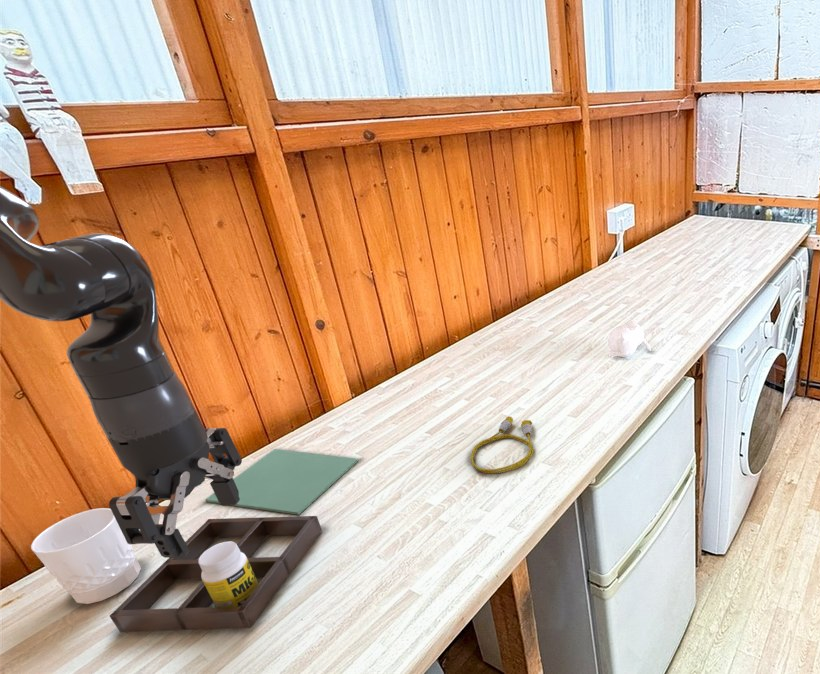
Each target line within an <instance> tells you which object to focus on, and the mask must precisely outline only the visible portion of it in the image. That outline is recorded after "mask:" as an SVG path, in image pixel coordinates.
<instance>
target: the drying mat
mask: <svg viewBox="0 0 820 674" xmlns="http://www.w3.org/2000/svg"><path fill="white" fill-rule="evenodd" d="M358 462H359V459H358V458H353V457H346V456H345V457H344V456H337V455H336V456H335V455H328V454H319V453H311V452H301V451H293V450H287V449H285V450H284V449H276V448H274V449H273V450H271V451H270V452H269V453H267V454H265V456H263V457H262V458H261V459H259V460H258V461H256V462H254V463H253V464H252V465H250V466H249V467H248V468H247V469H245V470H244V471H242V472H241V473H240V474H239V475H237V476H235V477H233V480H234V482H235V484H236V486H237V489H238V491H239V498H240V501H239V502H238V503H237V504H236V505H232V506H234V507H240V508H241V507H242V508H247V509H254V510H261V511H262V510H263V511H268V512H276V513H282V514H290V515H296V516H298V515H299V516H300V515H301V514H302V513H303V511H305V510H306V509H307V508H308V507H309V506H310V505H311V504H313V503H314V502H315V501H316V500H317V499H318V498H319V497H320V496H321V495H323V493H325V492H326V491H327V490H328V489H330V487H332V486H333V484H335V483H336V482H337V481H338V480H339V479H340V478H341V477H342V476H343V475H344V474H346V473H347V472H348V471H349V470H350V469H351V468H353V466H355V465H356V463H358ZM205 502H206V503H213V504H219V505H221V504H220V503H219V501H218V499H217V497H216V495H215V493H212V494H211V495H209V496H208V497H207V498H205Z"/></svg>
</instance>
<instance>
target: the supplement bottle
mask: <svg viewBox="0 0 820 674" xmlns="http://www.w3.org/2000/svg"><path fill="white" fill-rule="evenodd" d="M198 559H199V561H198V562H199V565H200V567H201V569H202V573H201V578H202V579H201V582H204V584H205V586H206V588H207V590H208V592H209V594H210V596H211V598H212V600H213V601H212V603H213V605H214V607H238V606H242V604H243V603H244V602H245V601H246V599H247V598H248V597H249V595H250V594H251V593H252V592H253V590H254V589H255V588H256V586H257V585H258V584H259V581H258V579H257V577H255V575H254V573H253V570H252V568H251V566H250V564H249V561H248V559H247V557H246V555H245V554H244V553H242V552H240V549H239V548H238V546H237V542H234V541H230V540H229V541H223V542H220V543H216V544H214V545H212V546H211V547H208V548H206V549H205V550H204V551H203V552H202V553H201V554H200V555H199V558H198Z"/></svg>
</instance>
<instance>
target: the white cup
mask: <svg viewBox="0 0 820 674" xmlns="http://www.w3.org/2000/svg"><path fill="white" fill-rule="evenodd" d="M30 549H31V551H32V552H33V554H34V555H35V556H36V557H37V559H38V560H39V561H40V562H41V563H42V564H43V566H44V567H45V569H46V570H47V572H49V573H50V575H52V577H53V578H54V579H55V580H56V582H58V584H59V585H60V586H61V587H62V588H63V589H65V590H66V591H67V592H68V593H69V595H70V596H71V597H72V598H73V600H74V601H75V602H76V604H83V605H84V604H85V605H90V604H94V603H97V602H98V603H99V602H102V601H105V600H106V599H109V598H111V597H113V596H116V595H117V594H119V593H120V592H122V591H124V590H125V589H126V588H128V587H129V586H131V585H132V583H133V582H134V581H135V580H136V579H137V578H139V575H140V572H141V570H142V568H141V565H140V564H139V561H138V559H137V557H136V555H135V551H134V549H133V546H132V544H128V543H127V541H126V539H125V537H124V535H123V533H122V531H121V529H120V527H119V525H118V523H117V521H116V519H115V517H114V515H113V513H112V511H111V509H110V507H100V508H99V507H98V508H93V509H88V510H84V511H81V512H78V513H75V514H72V515H70V516H68V517H65V518H63V519H61V520H59V521H57V522H55V523H53V524H52V525H50V526H48V527H47V528H45V529H44V530H43V531H41V533H39V534H38V535H37V536H36V537H35V538H34V539H33V541H32V542H31V544H30Z"/></svg>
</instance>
